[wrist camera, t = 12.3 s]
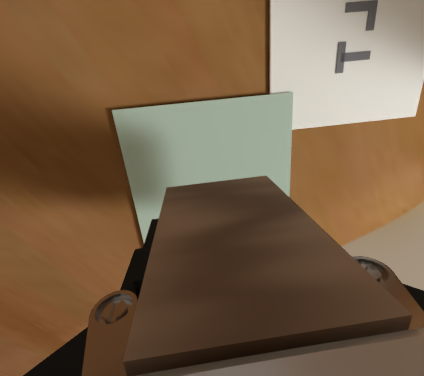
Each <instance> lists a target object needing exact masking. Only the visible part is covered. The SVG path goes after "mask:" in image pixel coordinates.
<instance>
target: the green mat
mask: <svg viewBox="0 0 424 376" xmlns="http://www.w3.org/2000/svg"><path fill="white" fill-rule="evenodd" d="M292 113H293V92H289V93H279V94H269V95H259V96H249V97H239V98H229V99H219V100H209V101H199V102H189V103H179V104H169V105H159V106H148V107H138V108H128V109H118V110H112V114H113V118H114V122H115V126H116V130H117V134H118V139H119V143H120V147H121V151H122V155H123V159H124V163H125V167H126V172H127V176H128V180H129V184H130V188H131V192H132V196H133V200H134V205H135V209H136V213H137V217H138V221H139V225H140V229H141V233H142V238H143V242H144V243H145V239H146V236H147V233H148V230H149V227H150V223H151V220H152V219H158V218H159V215H160V211H161V207H162V203H163V199H164V196H165V192H166V188H167V187H175V186H183V185H191V184H199V183H208V182H216V181H224V180H233V179H241V178H249V177H258V176H267V177H269V178H270V179H271V180H272V181H273V182H274V183H275V184H276V185H277V186H278V187H279V188H280V189H281V190H282V191H283V192H284V193H285V194H286V195H287V196H288V197H289V193H290V167H291V140H292Z"/></svg>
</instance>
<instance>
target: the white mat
mask: <svg viewBox="0 0 424 376" xmlns="http://www.w3.org/2000/svg"><path fill="white" fill-rule="evenodd" d="M423 81H424V0H270V68H269V94H279V93H289V92H293V113H292V130H293V129H302V128H312V127H321V126H330V125H339V124H348V123H358V122H367V121H376V120H385V119H394V118H404V117H413V116H416V111H417V107H418V103H419V98H420V94H421V89H422V85H423Z"/></svg>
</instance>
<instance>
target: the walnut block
mask: <svg viewBox="0 0 424 376" xmlns="http://www.w3.org/2000/svg"><path fill="white" fill-rule="evenodd" d="M412 316H413V314H412V313H411V312H410V311H408V310H407V309H406V308H405V307H404V306H403V305H402V304H401V303H400V302H399V301H398V300H397V299H396V298H395V297H394V296H393V295H392V294H391V293H390V292H388V291H387V290H386V289H385V288H384V287H383V286H382V285H381V284H380V283H379V282H378V281H377V280H376V279H375V278H374V277H373V276H372V275H371V274H370V273H368V272H367V271H366V270H365V269H364V268H363V267H362V266H361V265H360V264H359V263H358V262H357V261H356V260H355V259H354V258H353V257H352V256H351V255H349V254H348V253H347V252H346V251H345V250H344V249H343V248H342V247H341V246H340V245H339V244H338V243H337V242H336V241H335V240H334V239H333V238H332V237H331V236H330V235H328V234H327V233H326V232H325V231H324V230H323V229H322V228H321V227H320V226H319V225H318V224H317V223H316V222H315V221H314V220H313V219H312V218H311V217H310V216H308V215H307V214H306V213H305V212H304V211H303V210H302V209H301V208H300V207H299V206H298V205H297V204H296V203H295V202H294V201H293V200H292V199H291V198H290V197H288V196H287V195H286V194H285V193H284V192H283V191H282V190H281V189H280V188H279V187H278V186H277V185H276V184H275V183H274V182H273V181H272V180H271V179H270V178H269V177H267V176H258V177H249V178H241V179H233V180H224V181H216V182H208V183H199V184H191V185H183V186H175V187H167V188H166V192H165V196H164V199H163V203H162V207H161V211H160V215H159V219H158V223H157V227H156V231H155V235H154V239H153V243H152V247H151V251H150V255H149V259H148V263H147V267H146V271H145V274H144V278H143V282H142V286H141V290H140V294H139V298H138V302H137V306H136V310H135V314H134V318H133V322H132V326H131V330H130V334H129V338H128V342H127V345H126V349H125V353H124V357H123V361H122V362H123V365H124V368H125V371H126V373H127V376H136V375H141V374H147V373H152V372H158V371H164V370H170V369H176V368H181V367H187V366H193V365H199V364H205V363H210V362H216V361H222V360H228V359H234V358H240V357H246V356H252V355H258V354H264V353H270V352H276V351H282V350H288V349H294V348H300V347H306V346H312V345H318V344H324V343H330V342H336V341H343V340H349V339H355V338H361V337H368V336H374V335H380V334H386V333H393V332H399V331H406V330H408V329H409V326H410V322H411V319H412Z"/></svg>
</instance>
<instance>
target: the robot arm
mask: <svg viewBox="0 0 424 376" xmlns="http://www.w3.org/2000/svg"><path fill="white" fill-rule="evenodd" d="M158 219H159V218H158ZM158 219H152V220H151V223H150V227H149V230H148V233H147V236H146V239H145V243H144V246H143V248H140V249H136V250H135V251H134V253H133V256H132V259H131V262H130V264H129V267H128V270H127V273H126V276H125V278H124V281H123V284H122V287H121V289H120V290H119V291H115V292H112V293H110V294H108V295H106V296H105V297H103V298H102V299H100V300H99V301H98V302H97V303H96V304H95V306H94V307H93V309H92V310H91V313H90V316H89V323H88V327H87V328H86V329H85V330H83V331H82V332H81V333H79V334H78V335H77V336H75V337H74V338H73V339H71V340H70V341H69V342H67V343H66V344H65V345H63V346H62V347H61V348H59V349H58V350H57V351H55V352H54V353H53V354H51V355H50V356H49V357H47V358H46V359H45V360H43V361H42V362H41V363H39V364H38V365H37V366H35V367H34V368H33V369H31V370H30V371H29V372H27V373H26V374H25V375H23V376H127V373H126V371H125V368H124V365H123V362H122V361H123V357H124V353H125V349H126V345H127V342H128V338H129V334H130V330H131V326H132V322H133V318H134V314H135V310H136V306H137V302H138V298H139V294H140V290H141V286H142V282H143V278H144V274H145V271H146V267H147V263H148V259H149V255H150V251H151V247H152V243H153V239H154V235H155V231H156V227H157V223H158ZM353 258H354V259H355V260H356V261H357V262H358V263H359V264H360V265H361V266H362V267H363V268H364V269H365V270H366V271H367V272H368V273H370V274H371V275H372V276H373V277H374V278H375V279H376V280H377V281H378V282H379V283H380V284H381V285H382V286H383V287H384V288H385V289H386V290H387V291H388V292H390V293H391V294H392V295H393V296H394V297H395V298H396V299H397V300H398V301H399V302H400V303H401V304H402V305H403V306H404V307H405V308H406V309H407V310H408V311H410V312H411V313H412V314H413V316H412V319H411V322H410V326H409V329H408V330H406V331H399V332H393V333H386V334H380V335H374V336H368V337H361V338H355V339H349V340H343V341H336V342H330V343H324V344H318V345H312V346H306V347H300V348H294V349H288V350H282V351H276V352H270V353H264V354H258V355H252V356H246V357H240V358H234V359H228V360H222V361H216V362H210V363H205V364H199V365H193V366H187V367H181V368H176V369H170V370H164V371H158V372H152V373H147V374H141V375H136V376H424V291H423V290H420V289H417V288H413V287H411V286H408V285H405V284H402V283H401V281H400V280H399V279H398V277H397V276H396V275H395V273H394V272H393V271H392V270H391V269H390V268H389V267H388V266H387V265H385V264H384V263H382V262H380V261H378V260H375V259H372V258H369V257H363V256H354V257H353Z"/></svg>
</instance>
